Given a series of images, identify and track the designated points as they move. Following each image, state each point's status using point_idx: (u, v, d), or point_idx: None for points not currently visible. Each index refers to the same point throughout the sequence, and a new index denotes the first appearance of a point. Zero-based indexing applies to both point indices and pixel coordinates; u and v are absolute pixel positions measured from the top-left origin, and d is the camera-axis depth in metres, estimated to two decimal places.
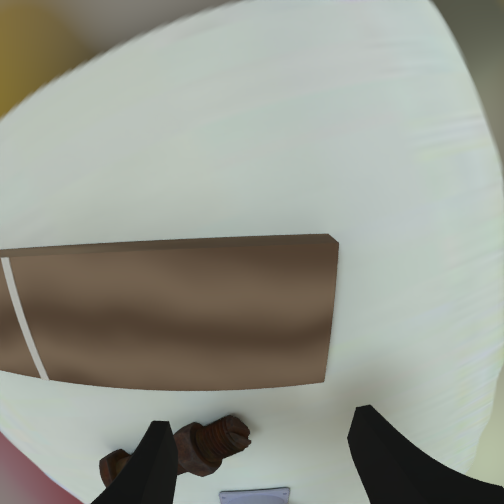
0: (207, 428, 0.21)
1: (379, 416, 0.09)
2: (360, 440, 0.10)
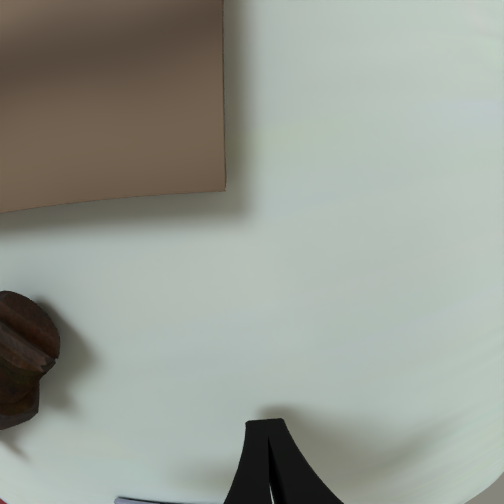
0: None
1: (284, 433, 0.09)
2: (268, 454, 0.09)
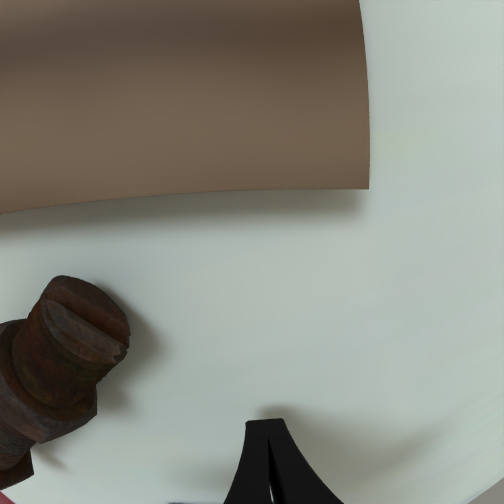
0: None
1: (284, 433, 0.09)
2: (268, 454, 0.09)
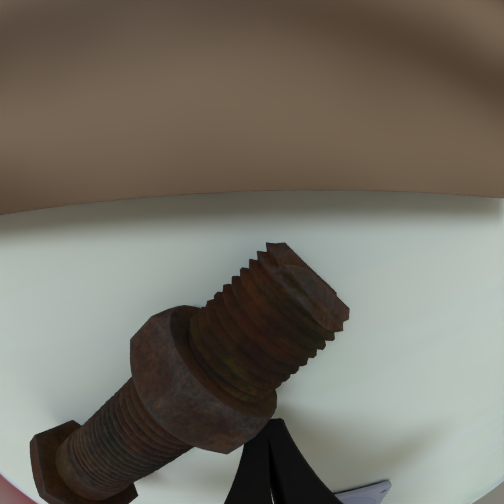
0: (219, 294, 0.09)
1: (284, 433, 0.09)
2: None
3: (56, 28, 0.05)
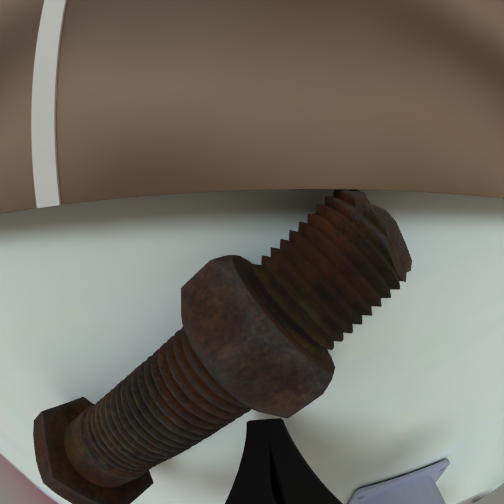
0: (285, 240, 0.08)
1: (284, 433, 0.09)
2: None
3: None
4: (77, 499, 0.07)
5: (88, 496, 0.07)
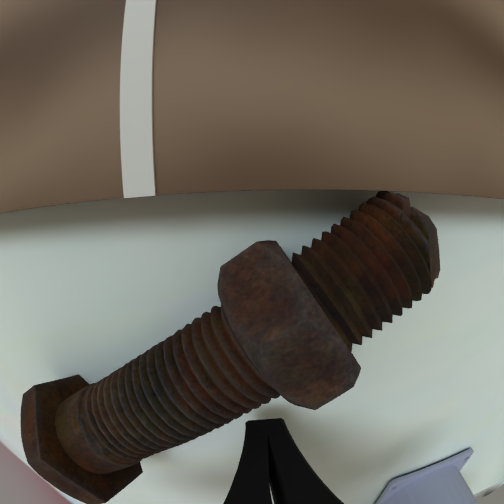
0: None
1: (284, 433, 0.09)
2: (268, 454, 0.09)
3: (356, 6, 0.06)
4: (64, 484, 0.07)
5: (77, 481, 0.07)
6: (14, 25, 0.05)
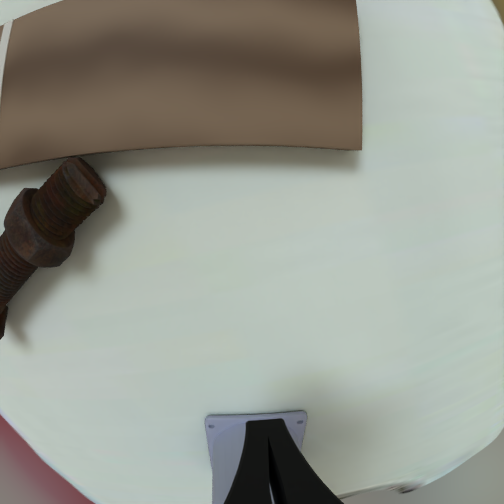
0: None
1: (284, 433, 0.09)
2: (268, 454, 0.09)
3: (67, 66, 0.12)
4: None
5: None
6: None
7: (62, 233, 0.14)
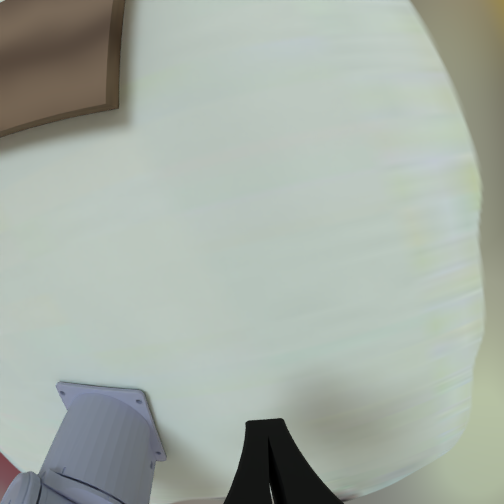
0: None
1: (284, 433, 0.09)
2: (267, 454, 0.09)
3: None
4: None
5: None
6: None
7: None
